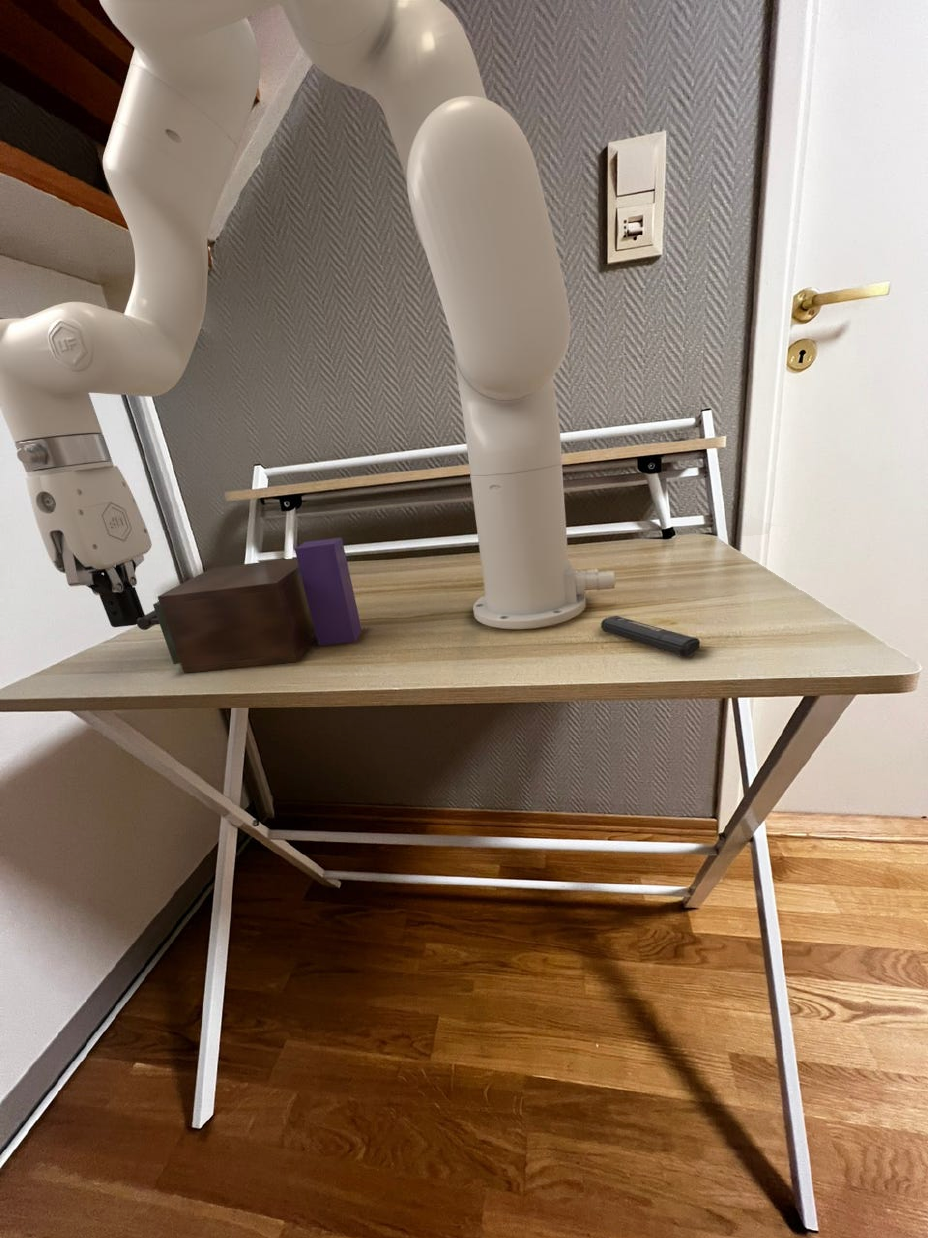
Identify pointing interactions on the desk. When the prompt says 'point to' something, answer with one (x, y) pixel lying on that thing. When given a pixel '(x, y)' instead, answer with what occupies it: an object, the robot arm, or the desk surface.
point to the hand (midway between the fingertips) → (129, 623)
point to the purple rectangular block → (329, 591)
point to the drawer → (158, 618)
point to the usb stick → (651, 636)
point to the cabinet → (240, 616)
